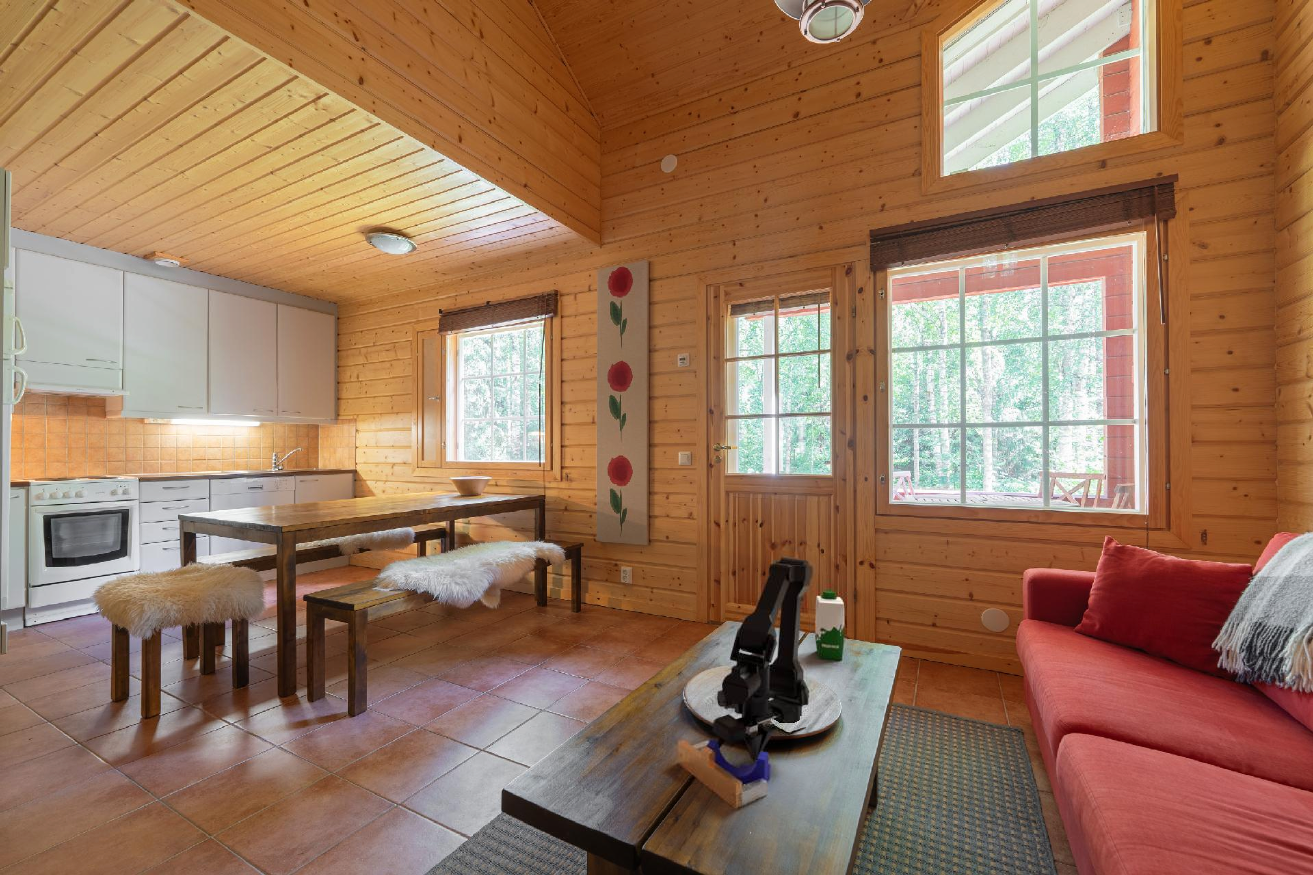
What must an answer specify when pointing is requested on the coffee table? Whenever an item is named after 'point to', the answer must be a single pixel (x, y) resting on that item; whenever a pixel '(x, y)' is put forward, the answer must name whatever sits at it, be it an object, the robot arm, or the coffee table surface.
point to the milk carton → (829, 626)
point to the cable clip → (743, 766)
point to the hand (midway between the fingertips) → (754, 759)
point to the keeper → (718, 775)
